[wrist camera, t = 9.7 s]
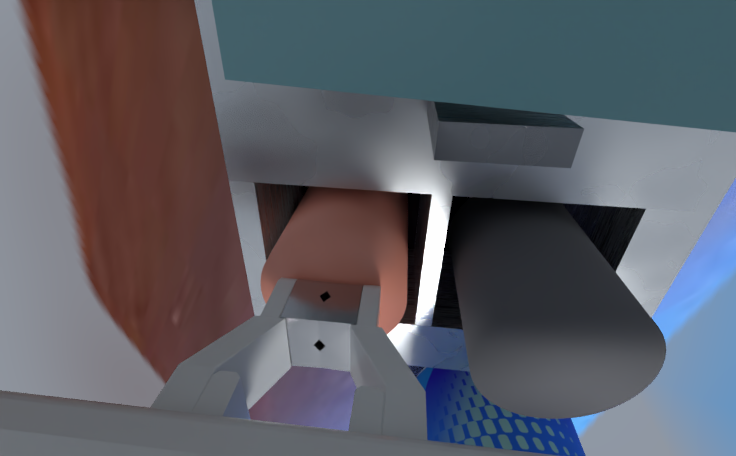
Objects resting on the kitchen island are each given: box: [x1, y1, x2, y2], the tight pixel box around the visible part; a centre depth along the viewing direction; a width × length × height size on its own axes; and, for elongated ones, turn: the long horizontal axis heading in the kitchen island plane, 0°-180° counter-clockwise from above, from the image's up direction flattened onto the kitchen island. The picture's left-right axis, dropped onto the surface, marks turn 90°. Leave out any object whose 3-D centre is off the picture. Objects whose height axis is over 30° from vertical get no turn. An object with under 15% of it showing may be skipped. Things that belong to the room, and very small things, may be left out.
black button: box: [449, 197, 666, 419], centre depth 11 cm, size 4×4×6 cm
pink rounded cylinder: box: [260, 186, 408, 334], centre depth 13 cm, size 4×4×6 cm
